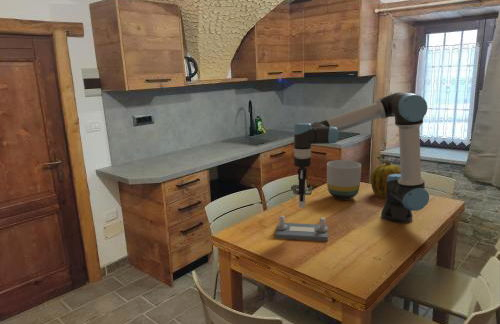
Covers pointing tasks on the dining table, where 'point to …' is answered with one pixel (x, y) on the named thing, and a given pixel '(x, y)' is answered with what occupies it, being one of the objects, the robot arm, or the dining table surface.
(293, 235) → the gear board
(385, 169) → the pumpkin
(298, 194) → the mechanical component
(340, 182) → the planter
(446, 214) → the dining table surface
